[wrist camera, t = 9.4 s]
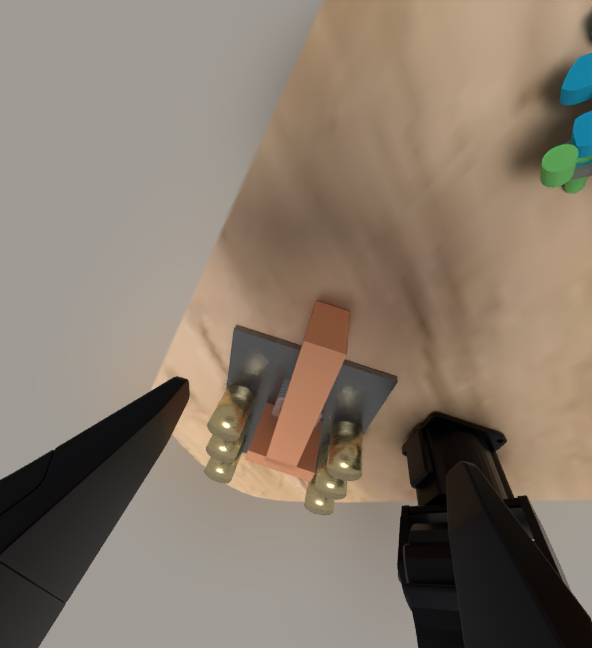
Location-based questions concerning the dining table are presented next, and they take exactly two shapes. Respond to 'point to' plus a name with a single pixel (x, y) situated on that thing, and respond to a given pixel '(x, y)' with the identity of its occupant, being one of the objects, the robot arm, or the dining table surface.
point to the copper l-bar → (303, 398)
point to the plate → (263, 386)
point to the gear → (573, 134)
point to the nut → (280, 401)
